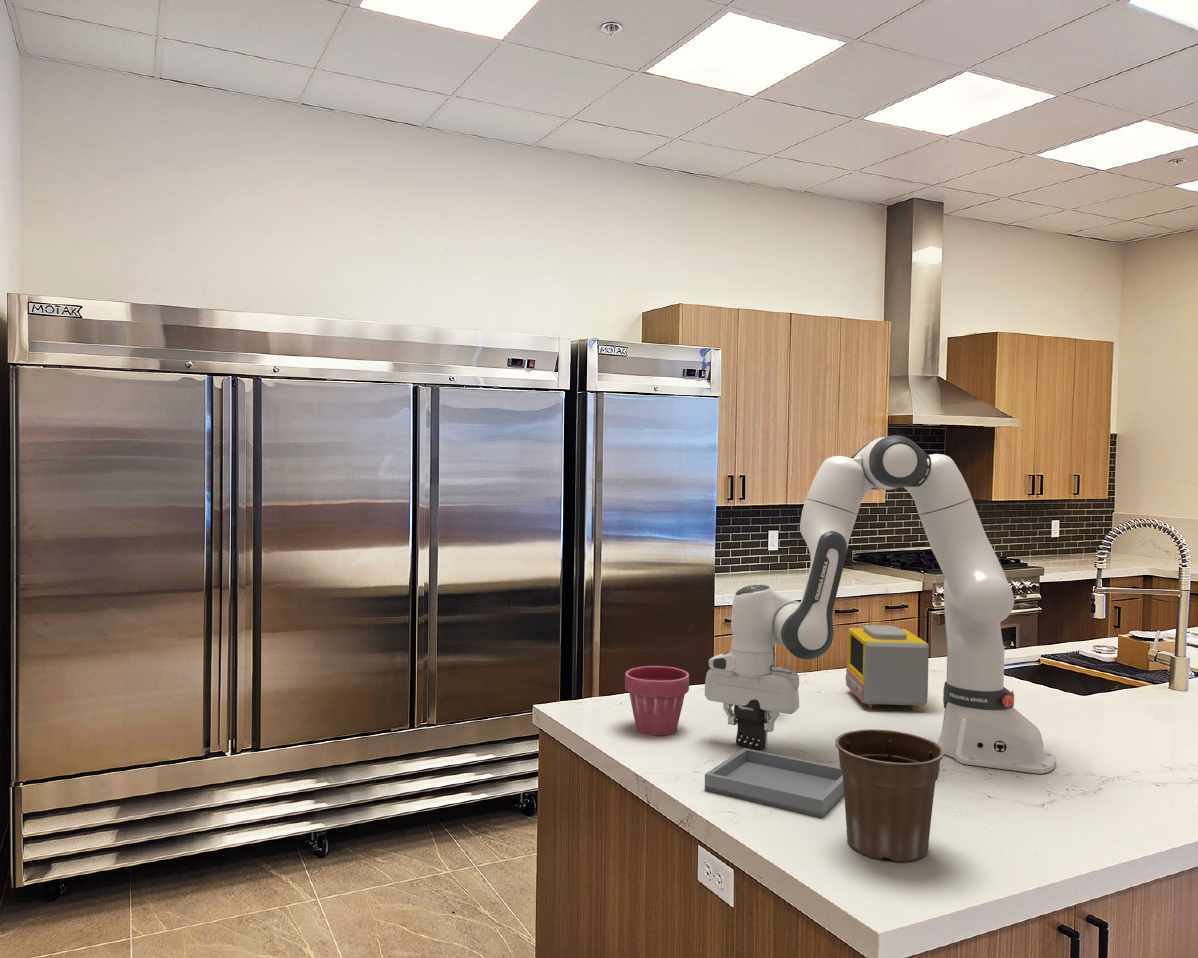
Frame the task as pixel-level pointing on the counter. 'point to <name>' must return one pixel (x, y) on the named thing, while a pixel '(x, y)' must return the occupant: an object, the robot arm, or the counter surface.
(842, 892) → the counter surface
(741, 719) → the battery charger
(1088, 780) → the counter surface
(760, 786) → the tray
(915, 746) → the plant pot
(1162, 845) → the counter surface
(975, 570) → the robot arm
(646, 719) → the plant pot
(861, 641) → the alarm clock
